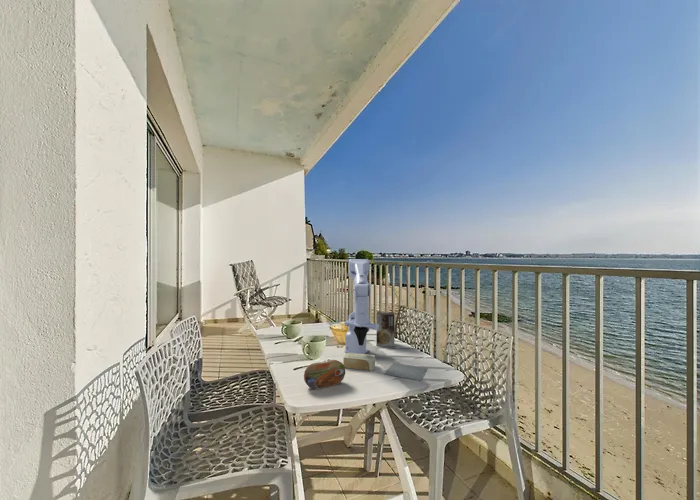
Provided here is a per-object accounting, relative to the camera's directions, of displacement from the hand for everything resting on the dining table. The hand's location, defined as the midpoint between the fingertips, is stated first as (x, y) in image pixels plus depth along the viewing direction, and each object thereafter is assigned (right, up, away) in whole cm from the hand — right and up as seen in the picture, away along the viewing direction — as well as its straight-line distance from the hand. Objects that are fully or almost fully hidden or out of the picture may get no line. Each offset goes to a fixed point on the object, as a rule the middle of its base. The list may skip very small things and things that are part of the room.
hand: (361, 344), depth 133 cm
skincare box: (+5, -6, -5) cm, 9 cm away
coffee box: (+13, -8, +27) cm, 31 cm away
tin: (-14, -8, -21) cm, 27 cm away
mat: (+18, -8, -8) cm, 21 cm away
